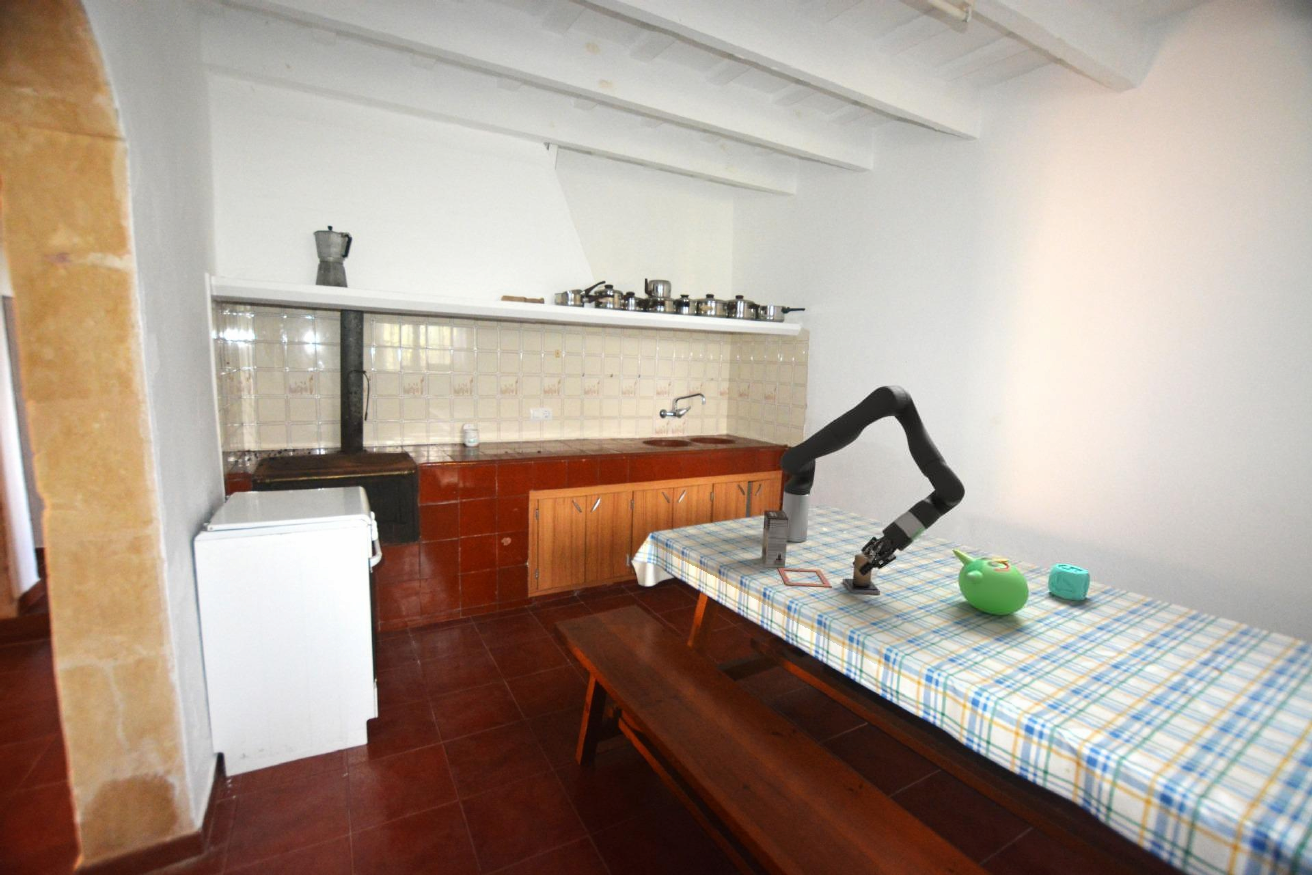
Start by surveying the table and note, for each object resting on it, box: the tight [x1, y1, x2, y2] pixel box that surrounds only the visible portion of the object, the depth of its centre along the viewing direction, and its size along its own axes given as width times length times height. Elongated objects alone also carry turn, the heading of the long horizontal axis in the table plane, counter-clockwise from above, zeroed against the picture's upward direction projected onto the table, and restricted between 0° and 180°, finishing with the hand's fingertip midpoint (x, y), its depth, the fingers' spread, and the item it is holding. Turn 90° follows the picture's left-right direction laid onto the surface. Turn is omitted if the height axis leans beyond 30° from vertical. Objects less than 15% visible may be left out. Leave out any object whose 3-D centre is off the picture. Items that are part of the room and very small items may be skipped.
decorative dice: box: [1047, 563, 1091, 602], centre depth 165 cm, size 8×8×8 cm
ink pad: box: [842, 578, 881, 595], centre depth 165 cm, size 8×8×1 cm
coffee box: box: [761, 509, 789, 568], centre depth 182 cm, size 9×6×16 cm
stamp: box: [852, 553, 873, 587], centre depth 164 cm, size 5×5×8 cm
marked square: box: [777, 567, 832, 588], centre depth 171 cm, size 13×13×1 cm
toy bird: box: [952, 549, 1030, 616], centre depth 152 cm, size 18×17×15 cm
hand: (857, 569), depth 164 cm, fingers closed on stamp, 4 cm apart
